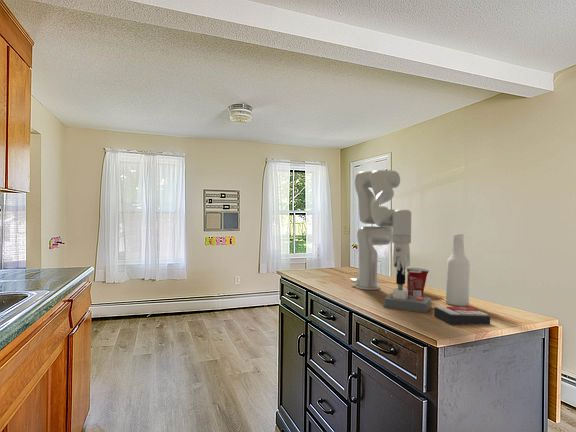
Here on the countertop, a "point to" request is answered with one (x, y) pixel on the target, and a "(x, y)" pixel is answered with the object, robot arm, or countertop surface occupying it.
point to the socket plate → (408, 303)
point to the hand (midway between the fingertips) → (400, 283)
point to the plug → (400, 292)
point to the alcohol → (457, 274)
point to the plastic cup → (423, 271)
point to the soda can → (415, 283)
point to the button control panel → (461, 315)
